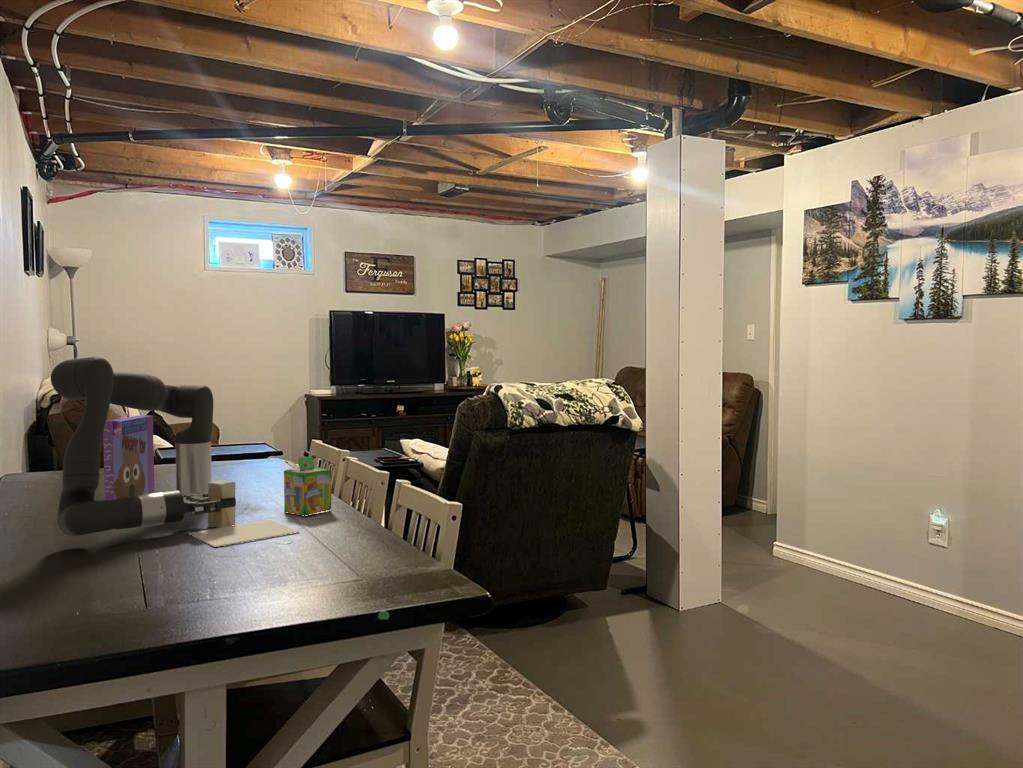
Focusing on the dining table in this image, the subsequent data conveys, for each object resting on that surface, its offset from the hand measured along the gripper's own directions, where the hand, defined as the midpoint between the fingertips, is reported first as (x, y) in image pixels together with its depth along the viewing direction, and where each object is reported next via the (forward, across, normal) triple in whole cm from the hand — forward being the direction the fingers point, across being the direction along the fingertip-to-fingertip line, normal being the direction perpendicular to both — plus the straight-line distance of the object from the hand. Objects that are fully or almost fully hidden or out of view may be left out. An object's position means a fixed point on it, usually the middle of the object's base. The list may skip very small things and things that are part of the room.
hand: (228, 499), depth 183 cm
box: (-2, 0, +7) cm, 7 cm away
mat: (-1, -11, +6) cm, 13 cm away
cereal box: (-10, +46, +7) cm, 47 cm away
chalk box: (+21, 0, +7) cm, 22 cm away
